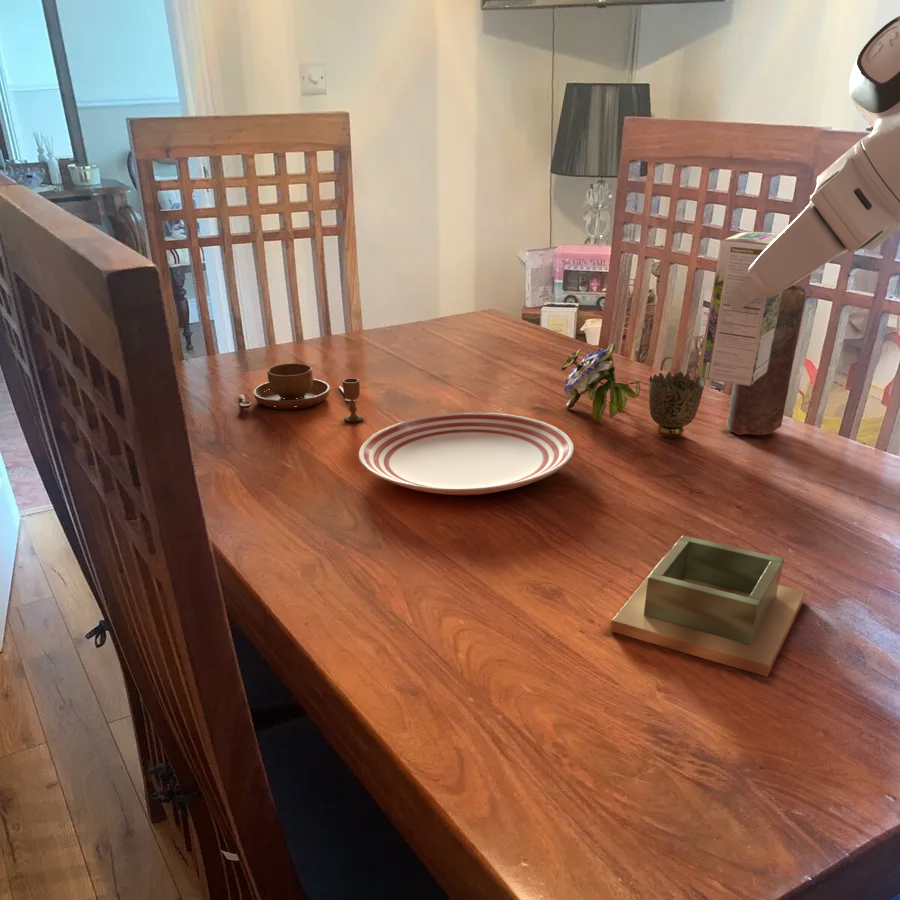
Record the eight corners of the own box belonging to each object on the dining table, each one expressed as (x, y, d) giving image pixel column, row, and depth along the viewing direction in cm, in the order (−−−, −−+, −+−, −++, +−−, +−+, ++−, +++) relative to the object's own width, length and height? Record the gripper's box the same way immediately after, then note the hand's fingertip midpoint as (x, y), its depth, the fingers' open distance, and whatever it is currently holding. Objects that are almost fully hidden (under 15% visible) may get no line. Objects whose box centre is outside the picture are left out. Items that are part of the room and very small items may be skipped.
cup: (708, 437, 120) (716, 380, 116) (671, 448, 117) (678, 390, 113) (668, 422, 126) (675, 368, 122) (632, 433, 122) (637, 377, 118)
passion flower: (569, 442, 134) (553, 368, 135) (638, 427, 134) (622, 353, 135) (575, 423, 123) (557, 343, 124) (650, 407, 123) (632, 326, 123)
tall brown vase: (743, 418, 127) (767, 275, 117) (790, 429, 123) (819, 282, 112) (715, 431, 123) (738, 283, 112) (763, 443, 118) (791, 291, 108)
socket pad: (803, 601, 82) (814, 554, 80) (767, 677, 72) (778, 624, 70) (661, 566, 89) (667, 521, 86) (610, 631, 79) (615, 582, 76)
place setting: (340, 383, 144) (337, 347, 141) (368, 420, 128) (366, 381, 125) (234, 394, 140) (229, 358, 137) (249, 435, 123) (244, 395, 120)
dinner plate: (321, 493, 105) (319, 468, 104) (411, 422, 127) (411, 400, 126) (537, 528, 97) (538, 501, 95) (594, 445, 118) (596, 421, 117)
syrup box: (717, 366, 99) (737, 230, 91) (769, 374, 96) (794, 234, 88) (699, 379, 95) (718, 238, 87) (753, 388, 92) (777, 242, 84)
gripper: (857, 164, 89) (746, 257, 99) (821, 185, 74) (695, 293, 84) (893, 213, 90) (780, 301, 99) (865, 243, 75) (734, 344, 84)
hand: (740, 298), depth 91 cm, fingers closed on syrup box, 6 cm apart
